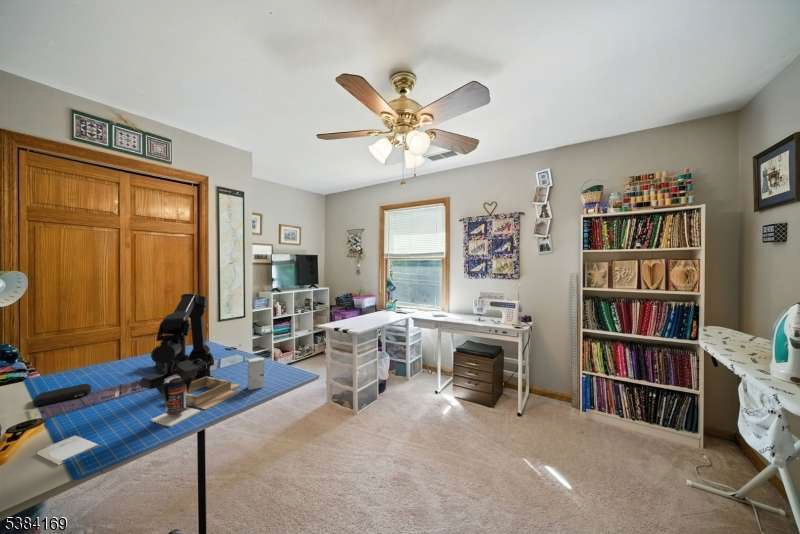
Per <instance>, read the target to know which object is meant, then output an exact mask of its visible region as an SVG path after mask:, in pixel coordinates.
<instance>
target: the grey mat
mask: <svg viewBox="0 0 800 534" xmlns="http://www.w3.org/2000/svg"><path fill="white" fill-rule="evenodd" d="M200 413H201V409H200V410H199V409H196V408H194V407H190V406H189V407H188V406H187V409H186V410H185V411H183V412H182V413H179V414H176V415H168V414H166V412H165V413H162V414H160V415H158V416H156V417H153V418H151V419H150V422H153V423H155V422H156V423H155V424H158V423H159V424H160V425H163V426H166V427H168V428H172V427H174V426H177V425H178V424H180V423H182V422H184V421H186V420H188V419H190V418H191V417H194V416H196V415H198V414H200Z"/></svg>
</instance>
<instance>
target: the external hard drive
mask: <svg viewBox="0 0 800 534" xmlns="http://www.w3.org/2000/svg"><path fill="white" fill-rule="evenodd" d="M52 445H53V446H52ZM49 446H50V447H49ZM47 447H48V449H50V450H53V451H51V452H50V455H51V457H52V458H53V459H55V460H58V461H60V462H61V461H63V460H66V459H68V458H71V457H73V456H75V455H78V454H81V453H85V452H87V451H90V450H92V449H95V448H97V447H99V448H100V445H99V444H97V443H96V442H93V441H91V440H89V439H86V438H83V437H81V436H78V435H73V436H70V437H68V438H65V439H63V440H60V441H58V442H55V443H53V444H50V445H48V446H47ZM97 449H98V448H97ZM95 450H96V449H95ZM92 451H93V450H92ZM90 452H91V451H90Z"/></svg>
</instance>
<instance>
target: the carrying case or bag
mask: <svg viewBox="0 0 800 534" xmlns="http://www.w3.org/2000/svg"><path fill="white" fill-rule="evenodd" d="M91 392H92V386H91V385H90V384H89V383H82V384H76V385H71V386H66V387H61V388H59V389H53V390H49V391H48V390H47V391H43V392H40V393H38V394H37V395H36V396H35V397H34V399H33V403H32V404H33V405H34V406H36V405H44V404H48V405H51V404H50V403H52V404H56V403H55V402H57V403H60V402H59V401H61V402H64V400H65V401H70V400H73V399H77V398H82V397H85V396H88V395H89V394H90V393H91ZM44 406H45V405H44Z"/></svg>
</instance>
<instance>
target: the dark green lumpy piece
mask: <svg viewBox="0 0 800 534" xmlns="http://www.w3.org/2000/svg"><path fill="white" fill-rule="evenodd" d="M159 346H161V344H159V345H157V346H156V347H154V348H153V349H152V351H151V352H150V357H151V360H152V361H153V362H154V363H155V365H154V369H155V372H156V373H158V374H164V372H163V369H165V363H158V362H157V361H155V360H154V358H153V353H154V351H155V350H156V349H157V348H158V347H159Z"/></svg>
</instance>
